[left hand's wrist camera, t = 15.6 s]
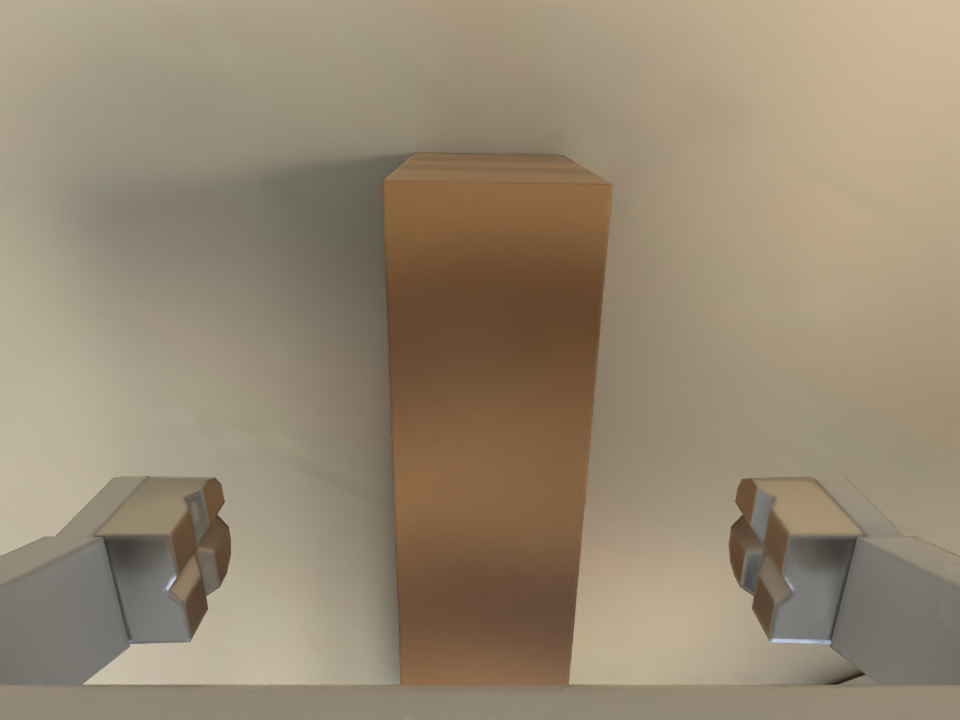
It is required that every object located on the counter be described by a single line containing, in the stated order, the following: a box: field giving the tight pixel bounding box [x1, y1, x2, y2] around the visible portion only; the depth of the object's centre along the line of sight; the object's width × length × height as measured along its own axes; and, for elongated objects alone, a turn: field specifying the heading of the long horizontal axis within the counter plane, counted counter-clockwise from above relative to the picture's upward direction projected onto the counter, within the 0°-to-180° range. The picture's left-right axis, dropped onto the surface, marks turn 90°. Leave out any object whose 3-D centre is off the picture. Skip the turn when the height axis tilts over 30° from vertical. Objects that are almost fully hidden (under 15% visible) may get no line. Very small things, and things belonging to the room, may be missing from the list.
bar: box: [382, 153, 612, 685], centre depth 24 cm, size 24×5×9 cm, turn 179°
